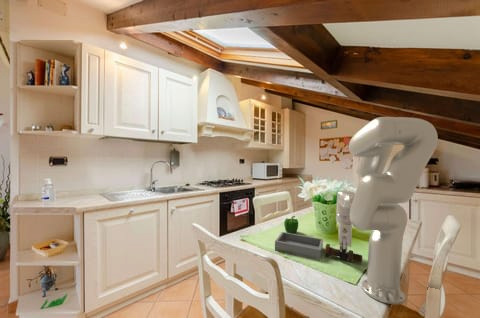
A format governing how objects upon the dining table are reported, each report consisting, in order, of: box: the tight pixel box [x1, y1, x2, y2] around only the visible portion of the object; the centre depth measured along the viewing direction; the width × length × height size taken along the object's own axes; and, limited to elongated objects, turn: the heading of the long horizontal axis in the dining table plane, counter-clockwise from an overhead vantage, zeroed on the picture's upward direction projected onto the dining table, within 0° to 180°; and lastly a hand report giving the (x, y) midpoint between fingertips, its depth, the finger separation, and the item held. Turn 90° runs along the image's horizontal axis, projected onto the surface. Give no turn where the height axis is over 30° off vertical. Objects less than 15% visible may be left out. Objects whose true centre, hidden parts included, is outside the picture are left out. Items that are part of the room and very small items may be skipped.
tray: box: [274, 231, 324, 261], centre depth 109 cm, size 14×21×4 cm, turn 65°
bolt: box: [324, 243, 363, 263], centre depth 100 cm, size 6×5×15 cm
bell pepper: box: [283, 215, 299, 234], centre depth 131 cm, size 8×8×10 cm
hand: (343, 257), depth 100 cm, fingers closed on bolt, 5 cm apart
